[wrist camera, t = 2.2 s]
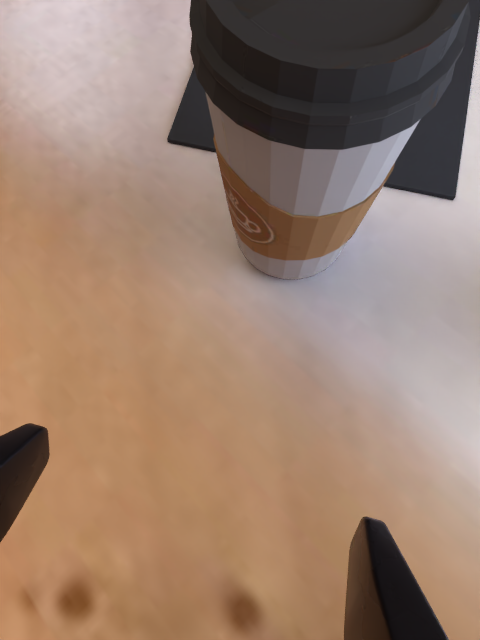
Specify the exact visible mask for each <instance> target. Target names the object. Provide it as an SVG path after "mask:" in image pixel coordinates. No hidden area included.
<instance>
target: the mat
mask: <svg viewBox="0 0 480 640" xmlns="http://www.w3.org/2000/svg"><path fill="white" fill-rule="evenodd" d="M468 3H469V10H470V16H471V18H470V23H469V27H468V32H467V36H466V41H465V45H464V48H463V50H462V53H461V55H460V56H459V58H458V60H457V61H456V63H455V66H454V71H453V75H452V80H451V82H450V84H449V85H448V87H447V88H446V90H445V92H444V93H443V95H442V97H441V98H440V100H439V101H438V103H437V105H436V106H435V107H434V108H433V109H432V110H430V111H429V112H428V113H427V114H426V115H425V116H423V117H422V118H421V119H420V121H419V123H418V124H417V126H416V128H415V129H414V131H413V133H412V134H411V136H410V138H409V139H408V141H407V143H406V144H405V146H404V148H403V149H402V151H401V153H400V154H399V156H398V158H397V159H396V161H395V165H394V168H393V171H392V172H391V174H390V175H389V177H388V179H387V180H386V182H385V184H384V185H383V186H387V187H392V188H397V189H402V190H407V191H412V192H417V193H422V194H427V195H432V196H437V197H442V198H447V199H451V200H453V199H454V198H455V195H456V187H457V180H458V173H459V165H460V158H461V151H462V144H463V136H464V129H465V122H466V114H467V107H468V100H469V93H470V85H471V78H472V71H473V64H474V56H475V49H476V42H477V34H478V27H479V20H480V0H469V2H468ZM213 138H214V130H213V125H212V120H211V116H210V111H209V106H208V101H207V97H206V92H205V90H204V88H203V87H202V85H201V84H200V82H199V80H198V79H197V76H196V72H195V68H193V71H192V73H191V76H190V79H189V81H188V84H187V87H186V90H185V92H184V95H183V98H182V100H181V103H180V106H179V109H178V111H177V114H176V117H175V119H174V122H173V125H172V128H171V130H170V133H169V136H168V138H167V140H168V142H170V143H175V144H180V145H185V146H190V147H195V148H200V149H205V150H210V151H215V152H216V149H215V144H214V140H213Z"/></svg>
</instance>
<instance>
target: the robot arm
mask: <svg viewBox="0 0 480 640" xmlns="http://www.w3.org/2000/svg"><path fill="white" fill-rule="evenodd" d="M48 459H49V440H48V430H47V429H46V428H45V427H43V426H39V425H35V424H31V423H29V424H25V425H23V426H21V427H19V428H17V429H14V430H12V431H10V432H8V433H6V434H4V435H2V436H0V542H1V541H2V539H3V538H4V536H5V535H6V533H7V532H8V530H9V529H10V527H11V526H12V524H13V522H14V521H15V519H16V517H17V516H18V514H19V512H20V510H21V509H22V507H23V505H24V503H25V501H26V500H27V498H28V496H29V494H30V493H31V491H32V489H33V487H34V486H35V484H36V482H37V480H38V479H39V477H40V475H41V473H42V472H43V470H44V468H45V466H46V464H47V462H48ZM344 640H449V639H448V637H447V635H446V634H445V632H444V630H443V628H442V626H441V625H440V623H439V621H438V619H437V617H436V615H435V614H434V612H433V610H432V608H431V606H430V605H429V603H428V601H427V599H426V597H425V595H424V594H423V592H422V590H421V588H420V586H419V584H418V583H417V581H416V579H415V577H414V575H413V574H412V572H411V570H410V568H409V566H408V564H407V563H406V561H405V559H404V557H403V555H402V554H401V552H400V550H399V548H398V546H397V544H396V543H395V541H394V539H393V537H392V535H391V534H390V532H389V530H388V528H387V526H386V525H385V523H384V522H382V521H380V520H377V519H373V518H370V517H363V518H362V519H361V521H360V523H359V525H358V528H357V530H356V532H355V534H354V537H353V539H352V542H351V545H350V551H349V565H348V579H347V593H346V607H345V623H344Z"/></svg>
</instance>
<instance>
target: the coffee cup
mask: <svg viewBox="0 0 480 640" xmlns="http://www.w3.org/2000/svg"><path fill="white" fill-rule="evenodd" d="M468 2H469V0H191V7H190V27H191V31H192V41H191V51H190V52H191V56H192V60H193V64H194V68H195V72H196V76H197V79H198V80H199V82H200V84H201V85H202V87H203V88H204V90H205V92H206V97H207V101H208V106H209V111H210V116H211V120H212V125H213V130H214V138H213V140H214V144H215V149H216V153H217V158H218V162H219V167H220V171H221V176H222V180H223V185H224V189H225V194H226V198H227V203H228V207H229V211H230V215H231V220H232V224H233V227H234V228H235V233H236V237H237V241H238V245H239V247H240V249H241V251H242V252H243V254H244V256H245V257H246V259H247V260H248V261H249V262H250V263H251V264H252V265H253V266H254V267H255V268H257V269H259V270H260V271H262V272H264V273H266V274H267V275H270V276H274V277H277V278H281V279H302V278H307V277H311V276H314V275H316V274H318V273H320V272H322V271H324V270H326V269H327V268H328V267H329V266H330V265H331V264H332V263H333V262H334V261H336V259H337V257H338V256H339V254H340V253H341V251H342V249H343V248H344V246H345V244H346V243H347V241H348V240H349V239H350V238H351V237H352V236H353V234H354V232H355V231H356V229H357V228H358V226H359V224H360V223H361V221H362V219H363V218H364V216H365V215H366V213H367V211H368V210H369V208H370V206H371V205H372V203H373V202H374V200H375V198H376V197H377V195H378V193H379V192H380V190H381V188H382V187H383V185H384V184H385V182H386V180H387V179H388V177H389V175H390V174H391V172H392V171H393V168H394V165H395V161H396V159H397V158H398V156H399V154H400V153H401V151H402V149H403V148H404V146H405V144H406V143H407V141H408V139H409V138H410V136H411V134H412V133H413V131H414V129H415V128H416V126H417V124H418V123H419V121H420V119H421V118H422V117H423V116H425V115H426V114H427V113H428V112H429V111H430V110H432V109H433V108H434V107H435V106H436V105H437V103H438V101H439V100H440V98H441V97H442V95H443V93H444V92H445V90H446V88H447V87H448V85H449V84H450V82H451V80H452V75H453V71H454V66H455V63H456V61H457V60H458V58H459V56H460V55H461V53H462V50H463V48H464V45H465V41H466V36H467V32H468V27H469V23H470V18H471V16H470V10H469V3H468Z"/></svg>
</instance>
